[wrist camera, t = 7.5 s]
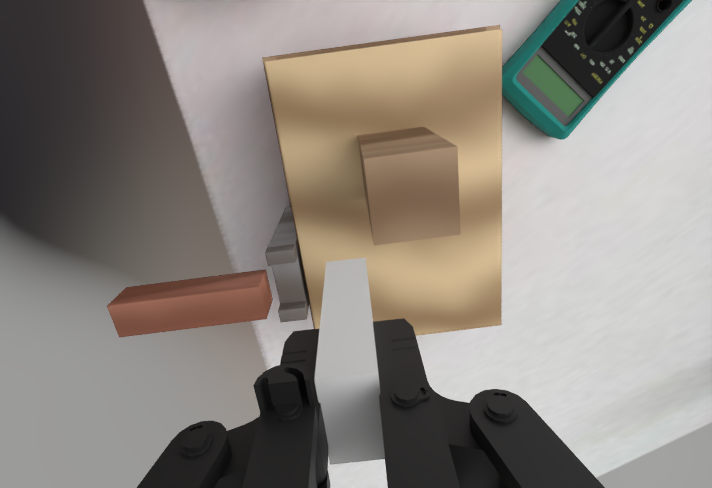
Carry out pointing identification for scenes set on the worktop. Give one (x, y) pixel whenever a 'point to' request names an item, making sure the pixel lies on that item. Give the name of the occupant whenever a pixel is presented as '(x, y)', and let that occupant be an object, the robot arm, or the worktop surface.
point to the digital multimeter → (580, 57)
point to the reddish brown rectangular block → (191, 303)
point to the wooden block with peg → (400, 173)
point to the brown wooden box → (285, 239)
